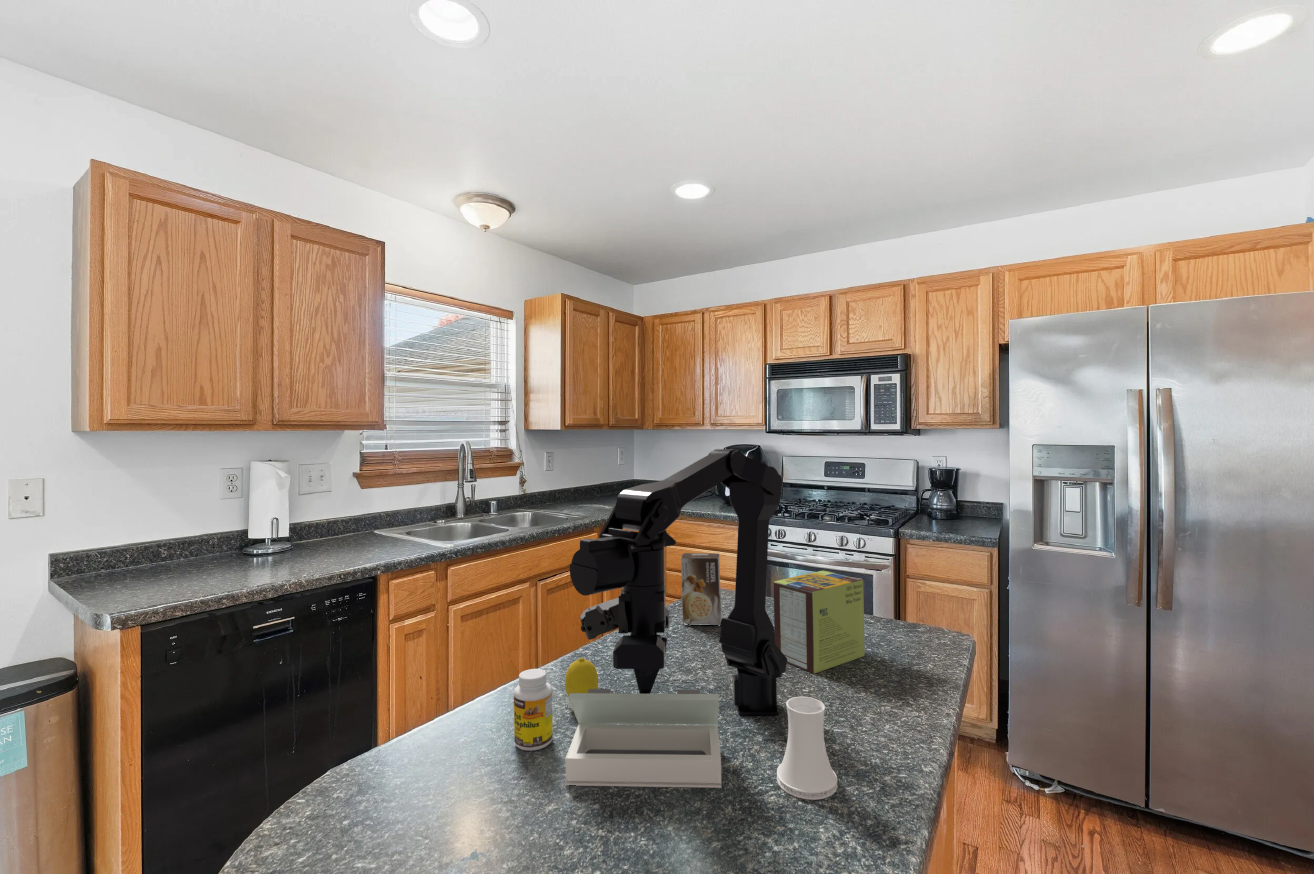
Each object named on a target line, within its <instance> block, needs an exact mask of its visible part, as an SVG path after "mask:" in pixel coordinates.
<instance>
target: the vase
mask: <svg viewBox="0 0 1314 874" xmlns="http://www.w3.org/2000/svg"><path fill="white" fill-rule="evenodd" d="M785 704H786V711H787V712H786V713H787V721H788V723H787V724H788V729H787V730H788V732H787V733H788V734H787V741H786V742H787V743H786V748H785V753H784V755H783V759H782V762H781V763H780V764H779V765H778V767H777V769H776V782H777V784H778V786H779V787H780V789H782V791H784V792H786V793H787V794H789V795H791V796H792V797H796V798H799V799H803V800H810V801H811V800H814V801H815V800H823V799H827V798H830V797H831V796H833V795H834V794H835V793H836V792H837V789H838V776H837V774H836V772H835V771H834V769H832V765H831V763H830V760H829V757H828V752H827V748H826V744H825V736H824V735H825V733H824V718H825V710H826V706H825V704H824V703H823V701H821V700H819V699H816V698H814V697H809V696H794V697H792V698H789V699H787V700H786V702H785Z"/></svg>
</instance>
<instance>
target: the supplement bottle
mask: <svg viewBox="0 0 1314 874" xmlns="http://www.w3.org/2000/svg"><path fill="white" fill-rule="evenodd" d="M547 679H548V678H547V671H545V670H544V669H541V668H530V669H526V670H523V671H521V672H520V673H519V674H518V684H517V686H516V687H515V688H514V690H513V727H514V728H513V730H514V731H513V735H514V736H513V738H514V739H513V740H514V741H513V742H514V745H515V746H516V747H517V748H518V749H519V750H522V751H529V752H530V751H531V752H532V751H538V750H542V749H544V748H546V747H547V746H548V745H550V744H551V742H552V740H553V737H554V735H553V733H554V732H553V730H554V729H553V727H554V725H553V723H554V721H553V687H552V685H551V684H550V683H549V682H547Z"/></svg>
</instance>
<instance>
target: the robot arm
mask: <svg viewBox="0 0 1314 874" xmlns="http://www.w3.org/2000/svg"><path fill="white" fill-rule="evenodd" d="M720 484H721V486H722V485H723V486H724V487H726V488H727V489H728V490H729V492H728V493H729V502H730V505H731V506H732V509H733V510H734V512H735V514H736V516H737V519H738V520H737V521H738V522H737V523H738V525H737V526H738V527H737V542H736V543H737V545H736V562H735V565H736V566H735V567H736V568H735V588H734V604H733V605H734V606H733V609H732V610H731V611H730V613H729V614H728V616H727V617H722V620H721V626H720V637H719V639H718V640H719V641H718V643H719V644H721V645H720V646H721V647H720V648H721V651H722V652H721V653H722V654H723V655H724V657H725V661H726V665H727V666H728V667H732V668H735V669H736V674H733V676H732V691H733V692H732V693H733V694H732V697H733V698H732V699H733V703H734V706H735V707H737V708H736V709H737V714H738V715H741V716H742V715H745V716H779V715H780V710H779V705H778V693H777V691H778V690H777V689H778V688H777V687H778V683H777V680H778V679H780V678H782V676H783V674H784V673H785V672H786V670H787V665H788V663H787V658H786V657H785V655H784V654H783V653H782V652H781V651H780V649H779V648H778V647H777V646H776V645H775V631H774V625H773V623H772V620H771V618H770V616H769V614H768V613H767V609H766V601H767V599H766V598H767V595H766V594H767V577H768V553H769V550H768V549H769V530H770V528H769V527H770V525H769V524H770V520H771V519H772V517H773V515H774V514H775V512H776V511H777V509H778V507H779V506H780V503H781V498H782V497H781V495H782V489H783V478H782V476H781V474H780V473H779V471H778V470H777V469H776V468H775V467H774V466H771V465H768V464H766V463H763V462H761V461H759V460H756V459H753V458H751V457H749V456H747V455H746V454H744V453H743V452H742V451H739V450H737V449H734V448H733V449H732V448H731V449H729V448H728V449H727V448H725V449H723V448H721V449H720V448H715V449H714V450H712V451H710V452H709V453H708V454H707V455H705V456H703V457H702V458H700V459H698V460H697V461H695V462H693V463H691V464H689V465H688V466H686V467H684V468H682V469H681V470H679V471H677V472H675V473H673V474H672V475H670V476H668V477H666V478H665V479H662V480H659V481H655V482H649V483H644V484H643V483H642V484H639V485H636V486H632V487H629V488H625V489H623V490H622V491H621V492H620V493H619V494H618V495H617V497H616V503H615V505H614V507H613V509H612V511H611V513H610V514H609V517H608V518H607V520H606V522H605V524H604V525H603V528H602V529H601V531H600V533H599V535H598V537H599V538H584V539H580V541H579V549H578V550H577V551H575V553H574V554H573V556H572V559H571V563H570V564H569V576H570V579H571V583H572V585H573V587H574V589H575V590H576V591H577V593H579V594H580V595H582V596H586V597H587V596H593V595H595V594H596V595H597V594H600V593H604V592H609V591H614V590H617V589H621V593H619V594H618V597H616V598H612V599H609V600H607V601H604V602H601V603H598V604H595V605H593V606H592V605H591V606H590V607H588V608H586V609H584V610H583V611H582V613H581V615H580V617H579V620H580V622H581V627H580V631H582V632H583V633H585V635H586V638H587V640H588V641H591V640H594V639H596V638H597V637H598V636H601V635H604V634H606V633H609V632H612V631H615V630H617V629H618V631H617V632H618V634H621V635H622V634H628V633H629V635H623V636H621V637H620V638H619V640H618V641H616V643H615V646H614V648H613V651H612V653H613V654H612V664H613V666H612V667H613V668H615V669H617V670H633V672H634V677H635V681H636V685H637V689H638V692H639V693H638V694H652V693H651V692H652V690H653V687H654V684H655V682H656V680H657V677H658V675H659V672H660V670H662V669H664V668H665V662H666V654H667V653H666V652H667V644H668V638H667V637H662V635H661V634H664V633H665V632H666V631H665V630H667V629H669V627H670V610H668V608H667V607H666V602H665V601H666V597H665V596H666V584H665V583H666V582H665V580H666V579H665V577H666V575H665V571H666V570H665V565H666V564H665V548H667V547H671V546H675V545H676V544H677V540H676V539H674V538H673V537H672V535H670V534H669V533H668V532H667V531H666V530H667V529H668V528H670V526H671V525H672V524H674V522H676V521H677V520H678V519H679V517H680V515H681V512H682V509H683V508H684V507H685V506H686V505H687V504H688V503H691V502H693V500H695V499H697V498H699V497H700V496H702V495H703V494H705V493H707V492H709V491H710V490H711V489H713V488H715V487H717V486H718V485H720Z"/></svg>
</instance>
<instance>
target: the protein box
mask: <svg viewBox="0 0 1314 874" xmlns="http://www.w3.org/2000/svg"><path fill="white" fill-rule="evenodd" d="M772 586H773V619H774V621H773V623H774V625H773V627H774V633H775V645H776V646H777V647H778V648H779V649H780V651H781V652H782V653H783V654H784V655H785V657H786V658H787V664H789V665H792V666H794V667H796V668H799V669H801V670H804V671H806V672H809V673H811V674H814V675H815V674H817V673H820V672H824V671H826V670H828V669H831V668H833V667H838V666H840V665H843V664H846V663H849V662H851V661H854V660H857V659H860V658H862V657H865V656H866V655H865V654H866V653H865V610H864V609H865V607H864V606H865V605H864V603H865V601H864V598H865V597H864V595H865V594H864V579H863V578H858V577H854V576H848V575H844V574H840V573H836V572H832V571H827V570H819V571H816V572H811V573H805V574H801V575H796V576H792V577H788V578H783V579H779V580H775V581H773V585H772Z"/></svg>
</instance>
